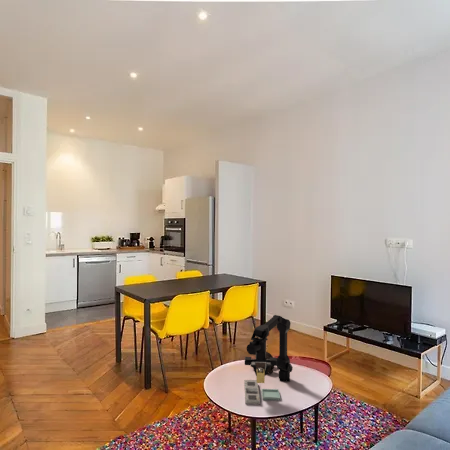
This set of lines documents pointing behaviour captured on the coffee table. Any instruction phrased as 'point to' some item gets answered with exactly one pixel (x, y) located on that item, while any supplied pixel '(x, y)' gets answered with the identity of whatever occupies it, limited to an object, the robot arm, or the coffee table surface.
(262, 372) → the brass block with knob
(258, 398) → the grey slotted plate
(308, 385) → the coffee table surface
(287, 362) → the robot arm
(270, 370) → the brown rounded lump
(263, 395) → the parts tray
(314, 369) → the coffee table surface
